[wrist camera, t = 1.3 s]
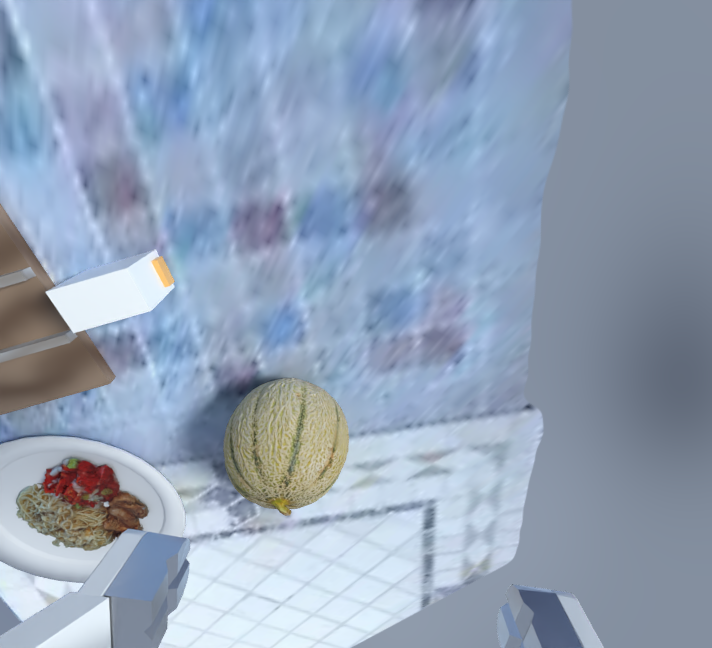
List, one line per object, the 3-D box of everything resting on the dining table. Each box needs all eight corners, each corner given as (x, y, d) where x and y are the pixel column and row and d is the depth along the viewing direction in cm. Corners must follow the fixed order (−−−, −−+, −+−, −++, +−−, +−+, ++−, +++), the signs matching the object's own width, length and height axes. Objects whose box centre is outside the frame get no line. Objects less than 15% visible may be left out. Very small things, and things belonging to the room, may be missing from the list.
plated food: (29, 584, 62) (14, 607, 59) (-86, 448, 49) (-112, 468, 46) (212, 552, 63) (207, 573, 60) (148, 411, 50) (138, 428, 47)
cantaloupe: (321, 341, 48) (324, 418, 34) (358, 424, 54) (374, 517, 41) (214, 380, 49) (176, 470, 35) (263, 457, 55) (247, 559, 41)
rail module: (86, 269, 41) (45, 291, 35) (160, 247, 41) (133, 266, 35) (108, 305, 43) (73, 333, 37) (179, 285, 43) (157, 309, 37)
